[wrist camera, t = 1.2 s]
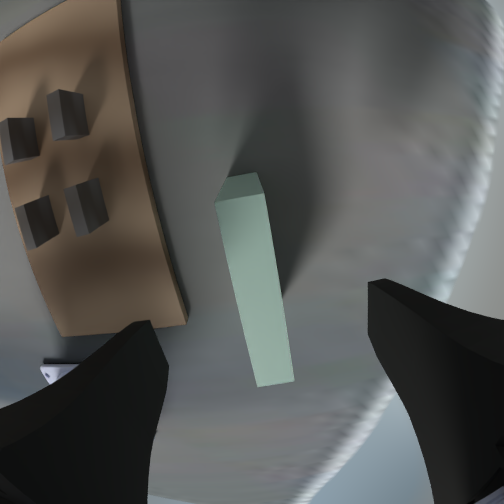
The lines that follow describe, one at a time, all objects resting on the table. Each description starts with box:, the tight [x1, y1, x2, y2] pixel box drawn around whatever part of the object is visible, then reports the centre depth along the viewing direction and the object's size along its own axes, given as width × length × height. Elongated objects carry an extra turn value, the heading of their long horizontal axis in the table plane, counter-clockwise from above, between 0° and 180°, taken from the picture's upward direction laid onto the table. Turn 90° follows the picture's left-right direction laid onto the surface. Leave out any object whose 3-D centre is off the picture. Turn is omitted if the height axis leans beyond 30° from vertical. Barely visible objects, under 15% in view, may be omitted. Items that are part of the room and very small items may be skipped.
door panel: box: [214, 172, 294, 387], centre depth 14 cm, size 8×2×7 cm, turn 10°
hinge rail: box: [0, 0, 188, 337], centre depth 14 cm, size 22×10×3 cm, turn 10°
